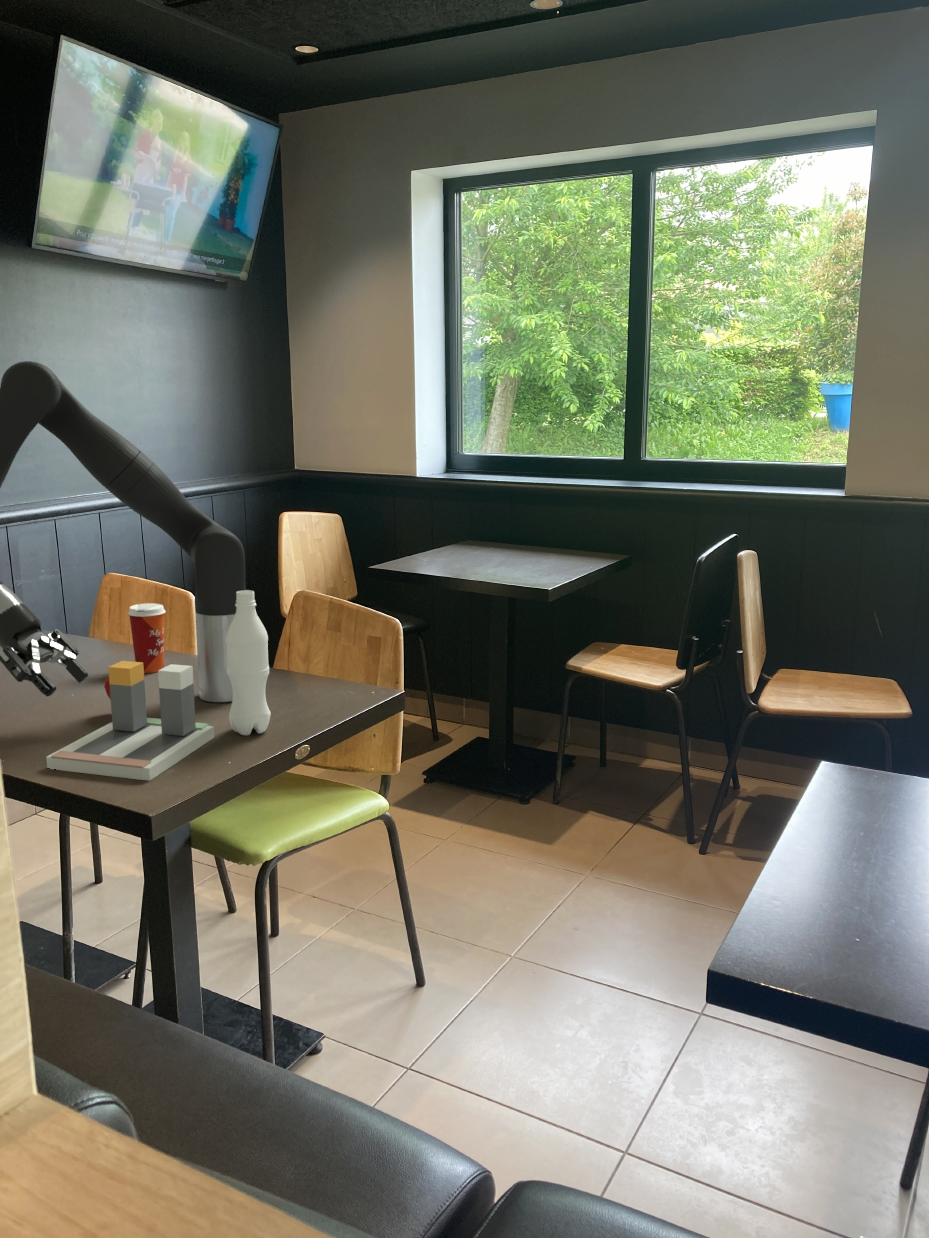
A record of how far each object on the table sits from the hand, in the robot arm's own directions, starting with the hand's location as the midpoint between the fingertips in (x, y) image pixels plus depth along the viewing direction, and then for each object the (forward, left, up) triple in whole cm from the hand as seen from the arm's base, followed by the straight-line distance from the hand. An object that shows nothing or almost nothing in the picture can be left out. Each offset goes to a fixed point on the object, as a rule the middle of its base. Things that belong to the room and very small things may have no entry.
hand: (68, 685), depth 160 cm
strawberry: (-10, -6, -9) cm, 15 cm away
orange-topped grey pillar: (-8, +8, -6) cm, 13 cm away
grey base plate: (-7, +15, -9) cm, 18 cm away
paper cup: (-21, -34, -9) cm, 41 cm away
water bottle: (-27, +14, -9) cm, 32 cm away
